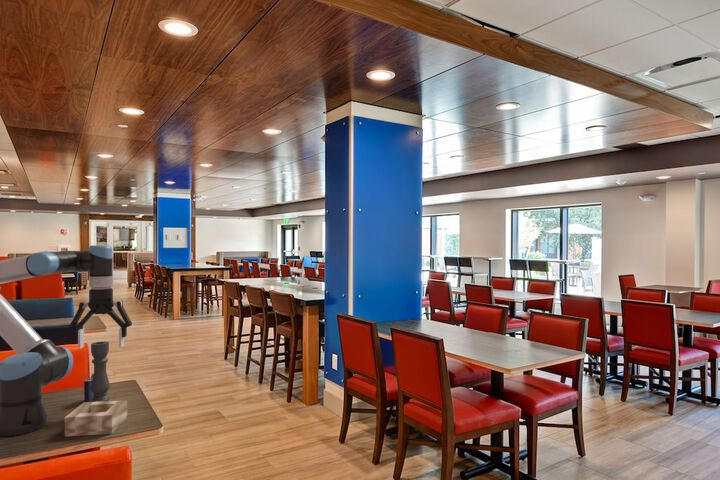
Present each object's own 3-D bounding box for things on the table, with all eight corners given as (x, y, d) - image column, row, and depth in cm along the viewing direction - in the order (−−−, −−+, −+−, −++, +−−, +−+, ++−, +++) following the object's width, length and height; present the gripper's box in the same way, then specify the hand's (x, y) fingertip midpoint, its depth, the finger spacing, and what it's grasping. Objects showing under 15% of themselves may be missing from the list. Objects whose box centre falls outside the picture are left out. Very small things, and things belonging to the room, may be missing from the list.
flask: (95, 396, 184) (96, 369, 184) (103, 396, 185) (103, 369, 185) (82, 405, 175) (82, 376, 175) (90, 405, 175) (90, 376, 175)
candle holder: (92, 411, 169) (92, 342, 169) (111, 408, 171) (111, 340, 171) (88, 416, 163) (88, 345, 163) (108, 414, 165) (108, 344, 165)
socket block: (64, 436, 147) (64, 417, 147) (84, 419, 161) (84, 402, 161) (112, 433, 149) (112, 415, 149) (127, 417, 163) (127, 400, 163)
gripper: (58, 289, 162) (58, 350, 162) (134, 288, 165) (134, 348, 165) (68, 287, 169) (68, 346, 169) (141, 286, 173) (141, 343, 173)
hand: (101, 347), depth 167 cm, fingers open, 13 cm apart
